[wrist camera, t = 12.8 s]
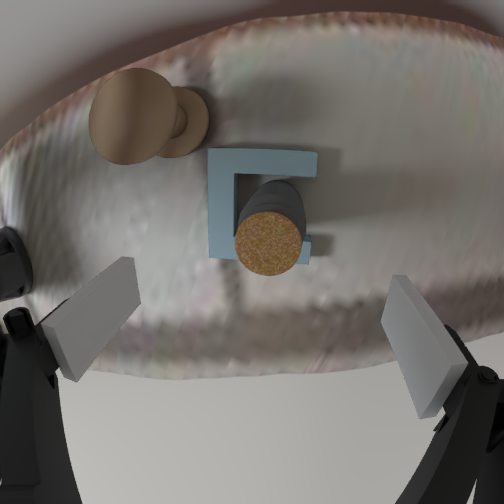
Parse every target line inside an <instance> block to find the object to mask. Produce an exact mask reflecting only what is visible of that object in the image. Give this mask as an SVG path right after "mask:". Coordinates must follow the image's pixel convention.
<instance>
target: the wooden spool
mask: <svg viewBox="0 0 504 504" xmlns="http://www.w3.org/2000/svg"><path fill="white" fill-rule="evenodd" d="M209 122H210V116H209V111H208V107H207V105H206V103H205V102H204V100H203V99H202V98H201V97H200V96H199V95H198V94H197V93H195V92H193V91H192V90H190V89H187V88H184V87H178V86H175V87H172V86H171V84H170V83H169V82H168V81H167V80H166V79H165V78H164V77H163V76H161V75H159V74H157V73H155V72H153V71H151V70H148V69H144V68H132V69H127V70H124V71H122V72H119V73H117V74H116V75H114V76H113V77H111V78H110V79H109V80H108V81H107V82H106V83H105V84H104V85H103V86H102V87H101V88H100V90H99V91H98V93H97V95H96V97H95V98H94V101H93V103H92V106H91V110H90V114H89V132H90V137H91V140H92V143H93V145H94V147H95V148H96V150H97V151H98V153H99V154H100V155H101V156H102V157H104V158H105V159H106V160H108V161H110V162H112V163H115V164H120V165H128V164H135V163H140V162H143V161H146V160H148V159H150V158H152V157H153V156H155V155H158V156H161V157H165V158H174V157H180V156H184V155H187V154H189V153H190V152H192V151H193V150H195V149H196V148H197V147H198V146H199V145H200V144H201V143H202V141H203V140H204V138H205V136H206V134H207V132H208V128H209Z"/></svg>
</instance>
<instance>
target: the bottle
mask: <svg viewBox="0 0 504 504" xmlns="http://www.w3.org/2000/svg"><path fill="white" fill-rule="evenodd" d="M305 234H306V219H305V214H304V209H303V204H302V200H301V197H300V195H299V193H298V191H297V190H296V189H295V188H294V187H293V186H292V185H291V184H289V183H287V182H284V181H279V180H275V181H270V182H267V183H265V184H263V185H262V186H261V187H260V188H259V189H258V190H257V191H256V192H255V193H254V195H253V196H252V197H251V198H250V200H249V201H248V202H247V204H246V205H245V206H244V208H243V210H242V212H241V214H240V216H239V221H238V227H237V232H236V235H235V250H236V254H237V256H238V258H239V260H240V261H241V263H242V264H243V265H244V266H245V267H246V268H248V269H249V270H250V271H252V272H254V273H257V274H260V275H265V276H273V275H278V274H281V273H284V272H286V271H287V270H289V269H290V268H291V267H292V266H293V265H294V264H295V263H296V262H297V260H298V258H299V256H300V253H301V248H302V244H303V240H304V237H305Z"/></svg>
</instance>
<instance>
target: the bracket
mask: <svg viewBox="0 0 504 504" xmlns="http://www.w3.org/2000/svg"><path fill="white" fill-rule="evenodd" d="M317 156H318V152H311V151H297V150H279V149H251V148H208V234H209V258H222V259H236V260H239V258H238V256H237V254H236V250H235V235H236V232H237V185H238V173H241V174H268V175H287V176H302V177H316V174H317ZM310 249H311V239H310V236H307V235H305V237H304V240H303V244H302V248H301V253H300V256H299V258H298V260H297V262H296V263H295V264H309V259H310Z"/></svg>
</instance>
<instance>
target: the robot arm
mask: <svg viewBox="0 0 504 504" xmlns="http://www.w3.org/2000/svg"><path fill="white" fill-rule="evenodd" d="M32 282H33V275H32V268H31V263H30V260H29V257H28V254H27V252H26V249H25V247H24V245H23V243H22V242H21V240H20V239H19V237H18V236H17V235H16V233H15V232H14V231H12V230H11V229H9V228H7V227H3V228H0V302H2V301H6V300H10V299H15V298H19V297H22V296H23V295H25V294H26V293H28V292H29V291H30V289H31V287H32ZM140 304H141V300H140V295H139V289H138V283H137V276H136V270H135V263H134V258H133V257H121V258H119V259H118V260H117V261H115V262H114V263H113V264H112V265H110V266H109V267H108V268H106V269H105V270H104V271H103V272H101V273H100V274H99V275H98V276H96V277H95V278H94V279H93V280H91V281H90V282H89V283H88V284H86V285H85V286H84V287H83V288H81V289H80V290H79V291H78V292H77V293H75V294H74V295H73V296H72V297H70V298H68V299H66V300H64V301H63V302H62V303H61V304H60V305H58V307H56V308H55V309H54V310H53V311H52V312H50V313H49V314H48V315H47V316H46V317H45V318H43V319H42V320H41V321H40V322H39V323H38V324H37V325H36V326H35V325H34V323H33V320H32V317H31V315H30V312H29V310H28V309H27V308H25V307H18V308H15V309H12V310H10V311H9V312H7V313H6V314H5V315H4V317H3V320H4V323H5V325H6V328H7V330H8V332H9V334H4V332H3V330H2V327H1V325H0V481H1V485H0V504H82V501H81V498H80V494H79V491H78V488H77V484H76V481H75V478H74V474H73V470H72V466H71V462H70V458H69V453H68V448H67V443H66V438H65V433H64V427H63V420H62V414H61V406H60V398H59V387H58V378H57V375H56V373H55V371H56V370H57V369H58V368H60V370H61V372H62V374H63V376H64V377H65V378H67V379H70V380H72V381H75V382H78V381H79V380H80V378H81V377H82V376H83V374H84V373H85V372H86V370H87V369H88V368H89V366H90V365H91V364H92V363H93V361H94V360H95V359H96V358H97V356H98V355H99V354H100V352H101V351H102V350H103V349H104V347H105V346H106V345H107V344H108V342H109V341H110V340H111V339H112V337H113V336H114V335H115V334H116V333H117V331H118V330H119V329H120V328H121V326H122V325H123V324H124V323H125V322H126V320H127V319H128V318H129V317H130V316H131V314H132V313H133V312H134V311H135V310H136V308H137V307H138V306H139V305H140ZM381 324H382V326H383V328H384V330H385V333H386V335H387V337H388V340H389V342H390V344H391V347H392V349H393V351H394V354H395V356H396V359H397V361H398V363H399V366H400V368H401V371H402V373H403V376H404V379H405V381H406V383H407V386H408V389H409V392H410V394H411V397H412V400H413V403H414V405H415V408H416V411H417V414H418V417H419V419H423V418H429V417H435V416H436V415H437V414H438V412H439V410H440V409H441V408H442V406H443V408H444V410H445V413H446V414H445V415H444V416H443V418H442V419H441V420H440V422H439V423H438V425H437V426H436V427H435V429H434V430H433V431H436V433H435V435H434V437H433V439H432V441H431V443H430V445H429V447H428V449H427V451H426V453H425V455H424V457H423V459H422V460H421V462H420V464H419V466H418V468H417V469H416V472H415V473H414V475H413V476H412V478H411V480H410V481H409V483H408V484H407V486H406V488H405V489H404V491H403V493H402V494H401V495H400V497H399V498H398V500H397V501H396V503H395V504H466V503H467V501H468V499H469V496H470V494H471V492H472V489H473V486H474V484H475V481H476V479H477V481H476V488H475V494H474V499H473V504H504V379H499V377H498V375H497V374H496V372H494V370H492V369H491V368H489V367H486V366H478V364H477V363H476V361H475V359H474V358H473V356H472V355H471V353H470V352H469V351H468V349H467V347H466V346H465V345H464V343H463V341H462V340H460V337H459V336H458V334H457V333H456V332H455V331H454V330H453V329H452V328H451V327H449V326H448V325H443V324H442V323H441V321H440V320H439V318H438V317H437V316H436V314H435V313H434V311H433V310H432V309H431V307H430V306H429V305H428V303H427V302H426V301H425V299H424V298H423V297H422V295H421V294H420V293H419V291H418V290H417V289H416V288H415V286H414V285H413V284H412V283H411V281H410V280H409V279H408V277H407V276H404V275H393V276H392V281H391V285H390V289H389V293H388V297H387V301H386V304H385V308H384V312H383V315H382V319H381Z"/></svg>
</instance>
